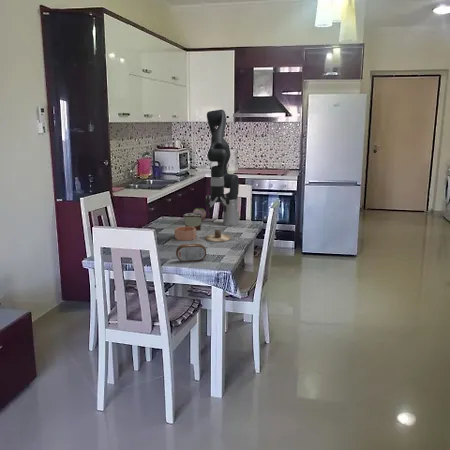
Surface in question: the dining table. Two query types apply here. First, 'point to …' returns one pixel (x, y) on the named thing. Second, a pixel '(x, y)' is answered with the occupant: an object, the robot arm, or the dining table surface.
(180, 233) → the bowl
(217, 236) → the lid
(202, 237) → the mat
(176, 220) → the dining table surface
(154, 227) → the dining table surface
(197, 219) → the food container
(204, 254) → the portable speaker
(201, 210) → the decorative fruit
